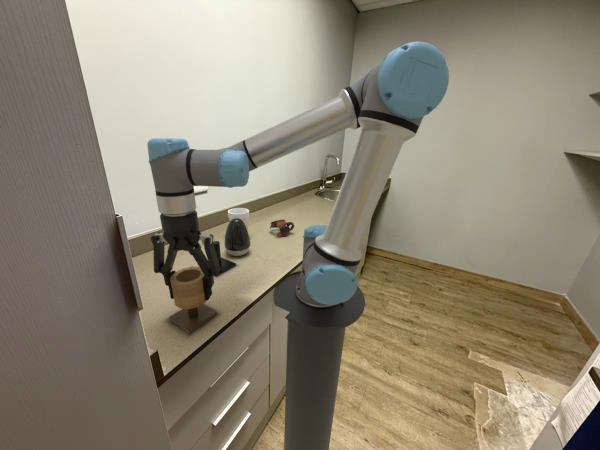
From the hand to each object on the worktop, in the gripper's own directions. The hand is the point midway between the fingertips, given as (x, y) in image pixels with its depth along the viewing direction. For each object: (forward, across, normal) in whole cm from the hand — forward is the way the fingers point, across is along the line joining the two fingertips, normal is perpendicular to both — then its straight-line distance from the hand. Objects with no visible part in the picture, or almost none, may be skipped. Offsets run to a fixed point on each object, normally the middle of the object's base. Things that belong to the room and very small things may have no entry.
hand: (191, 296), depth 62 cm
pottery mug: (+7, -17, -60) cm, 63 cm away
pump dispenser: (+7, -1, -37) cm, 38 cm away
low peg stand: (+7, 0, 0) cm, 7 cm away
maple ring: (+1, 0, 0) cm, 1 cm away
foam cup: (+7, +2, -53) cm, 53 cm away
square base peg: (+7, +3, -26) cm, 27 cm away
